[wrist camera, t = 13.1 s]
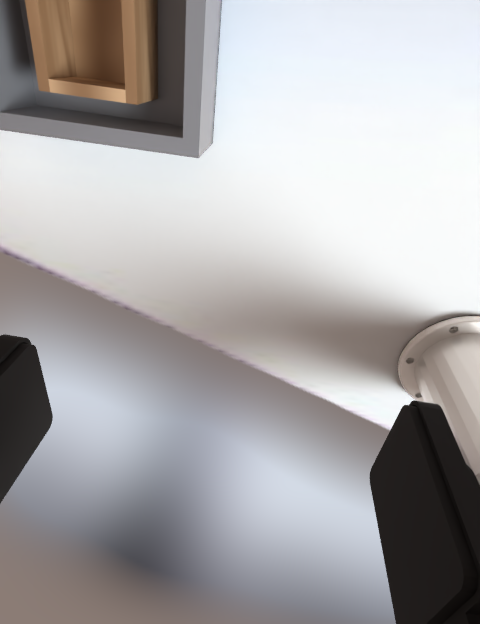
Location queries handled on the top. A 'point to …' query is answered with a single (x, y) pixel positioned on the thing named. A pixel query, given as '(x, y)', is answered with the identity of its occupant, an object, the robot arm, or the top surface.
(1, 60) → the grey open box
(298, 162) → the top surface
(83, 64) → the box
